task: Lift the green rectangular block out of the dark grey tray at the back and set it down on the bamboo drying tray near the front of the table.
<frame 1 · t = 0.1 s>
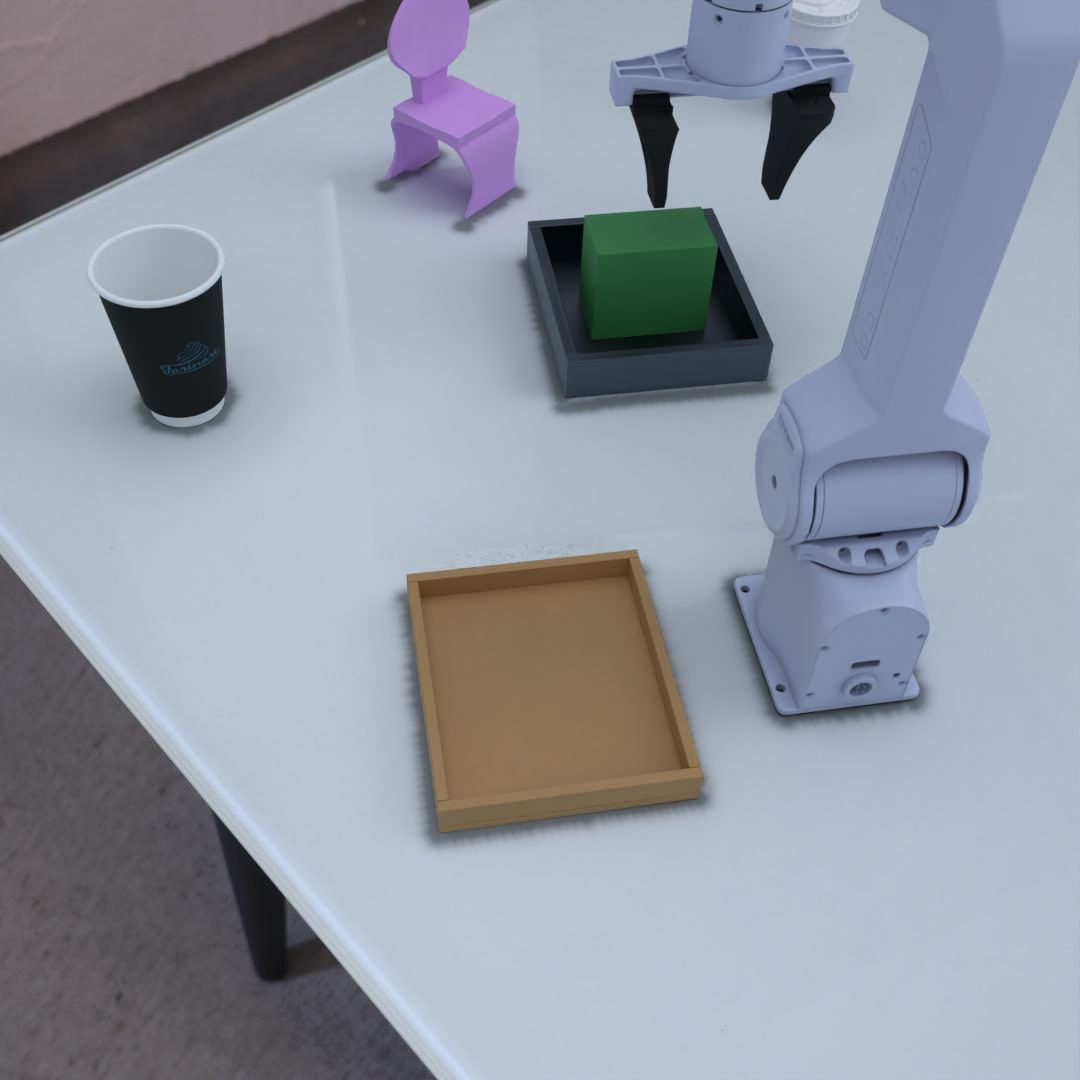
hand: (713, 195, 85), 10 cm above the table, tool pointing down, fingers open, 7 cm apart
drying tray: (544, 692, 70), on the table
toy chair: (452, 192, 102), on the table
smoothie: (798, 109, 112), on the table
dixie cup: (188, 404, 85), on the table
dark grey tray: (640, 324, 92), on the table
green rectangular block: (641, 315, 91), point 1 cm above the table, touching dark grey tray
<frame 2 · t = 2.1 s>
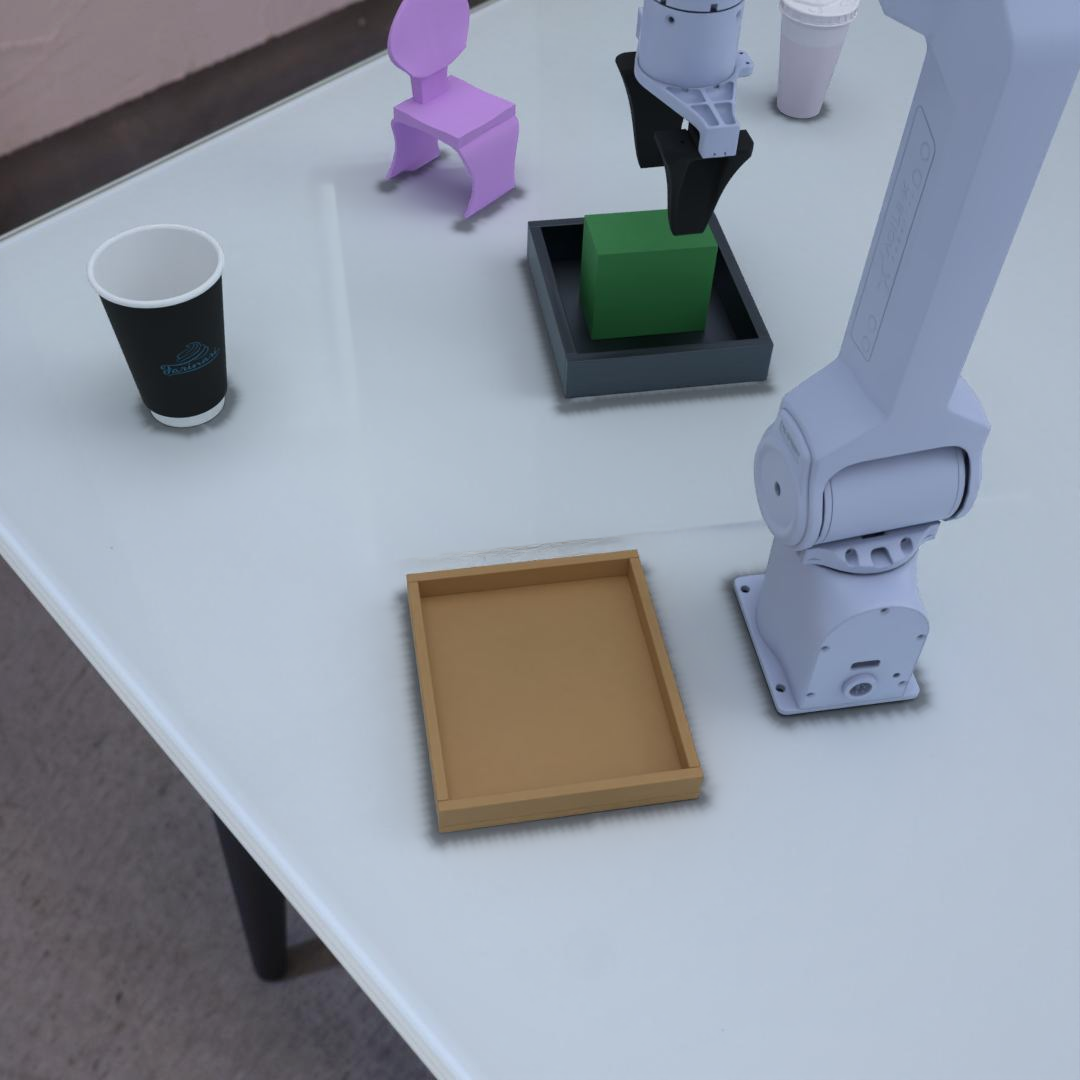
hand: (670, 197, 84), 10 cm above the table, tool pointing down, fingers open, 7 cm apart
nothing on the table moved.
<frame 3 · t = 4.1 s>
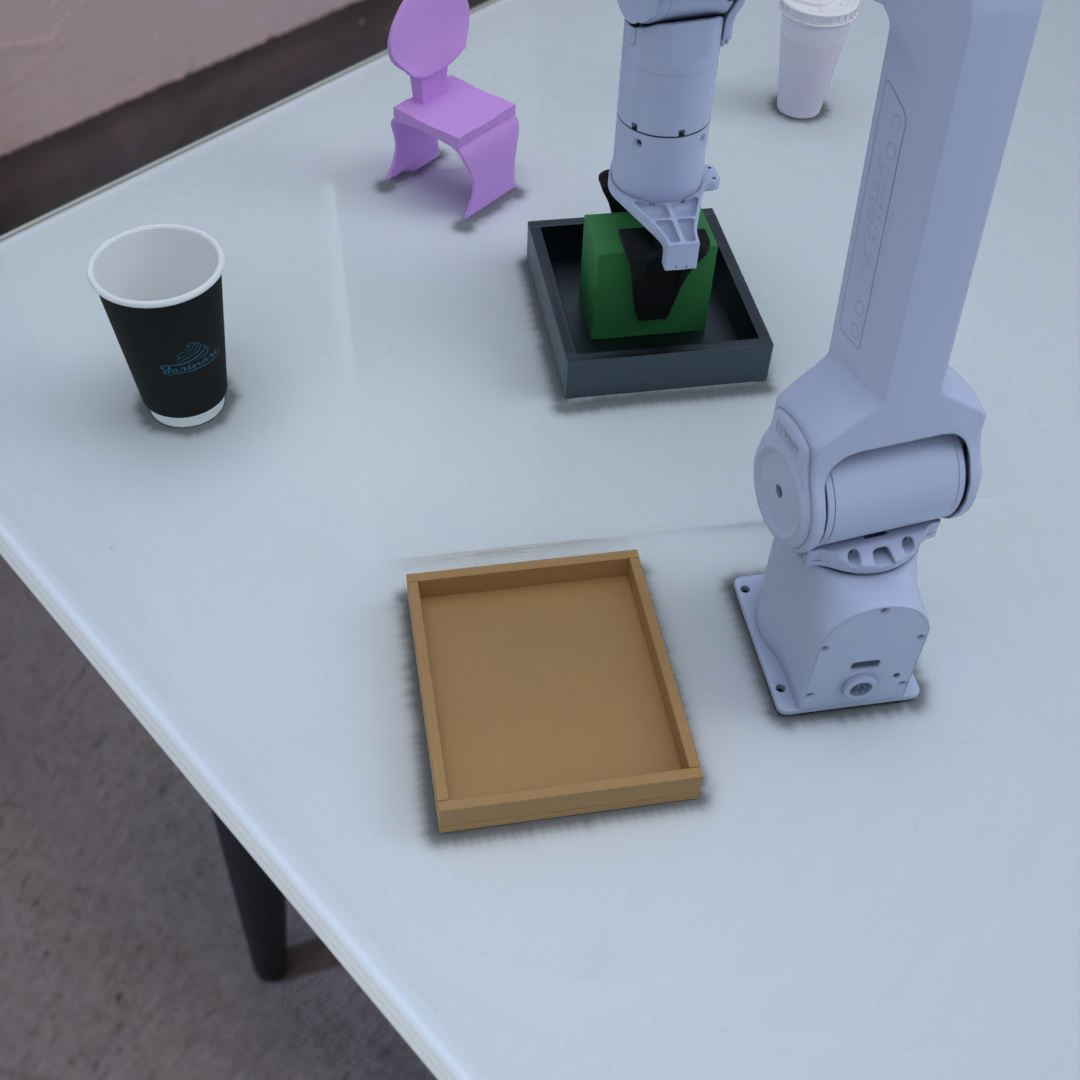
hand: (643, 294, 90), 3 cm above the table, tool pointing down, fingers closed on green rectangular block, 4 cm apart
green rectangular block: (641, 314, 91), point 1 cm above the table, touching dark grey tray, gripper
everything else where it was.
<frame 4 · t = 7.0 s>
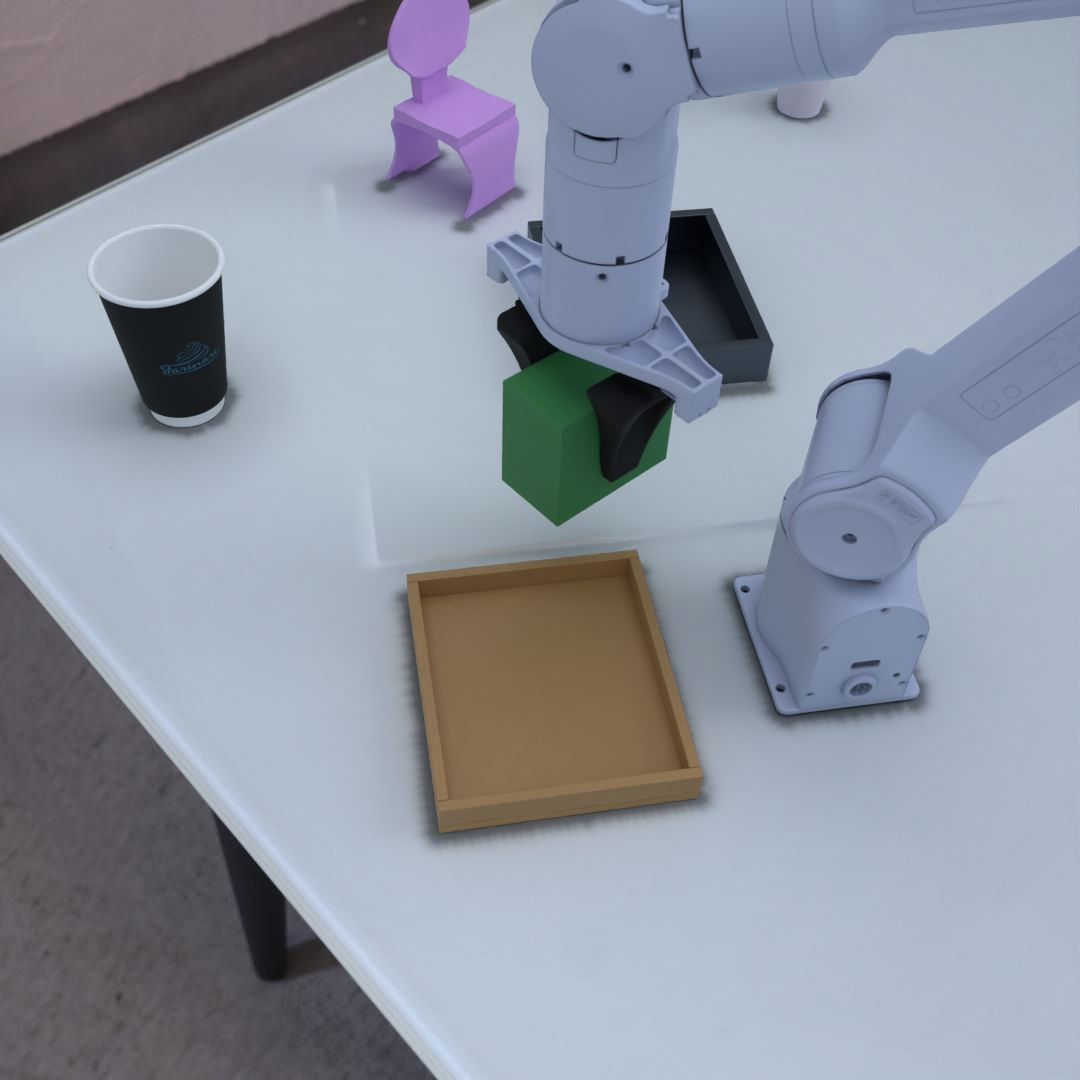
hand: (588, 445, 70), 10 cm above the table, tool pointing down, fingers closed on green rectangular block, 4 cm apart
green rectangular block: (584, 469, 71), point 8 cm above the table, touching gripper
everything else where it was.
when the fingers open (2 cm above the table, at t = 9.9 s): green rectangular block stays where it is, resting on drying tray.
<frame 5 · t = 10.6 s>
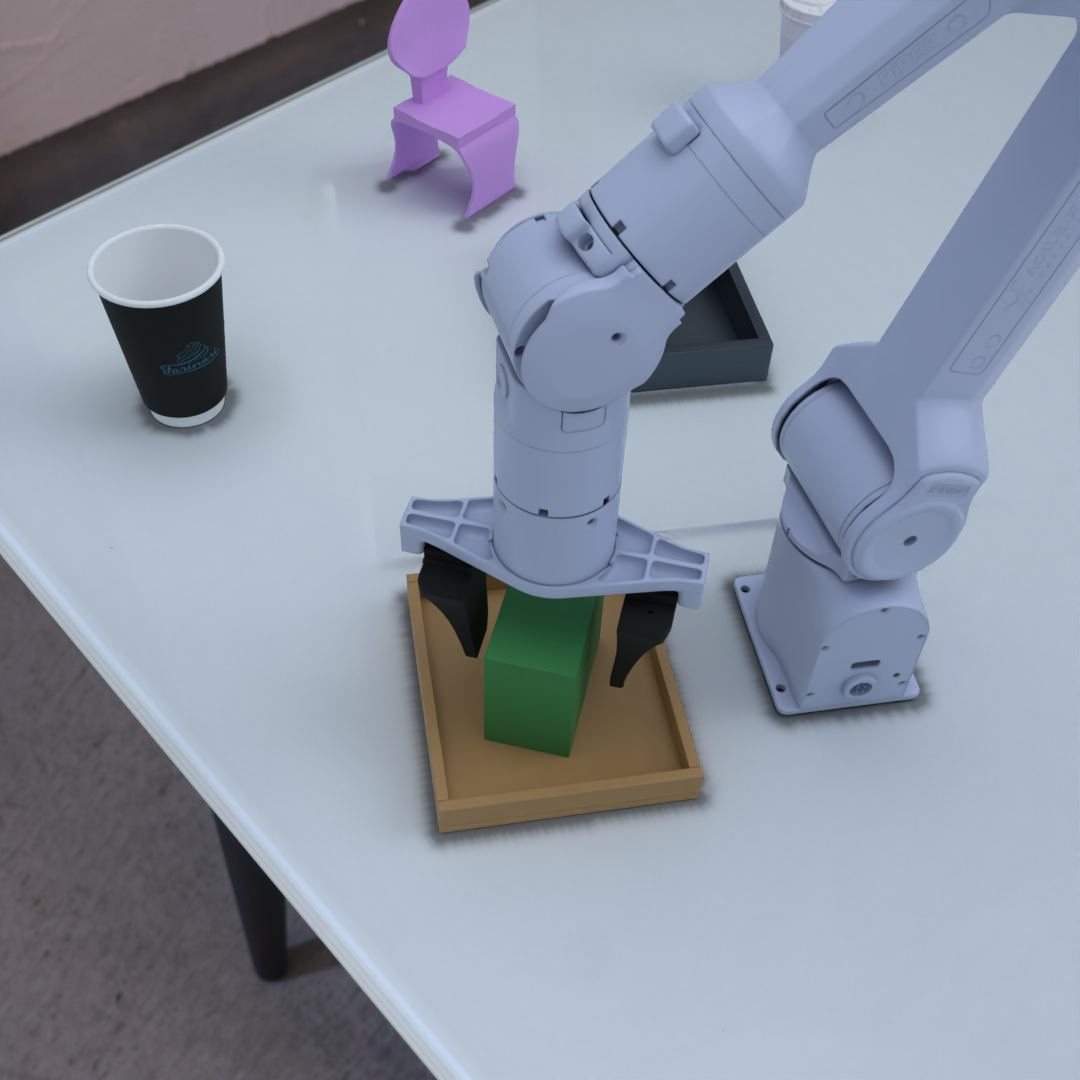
hand: (547, 657, 68), 3 cm above the table, tool pointing down, fingers open, 7 cm apart
green rectangular block: (543, 687, 70), point 1 cm above the table, touching drying tray
everything else where it was.
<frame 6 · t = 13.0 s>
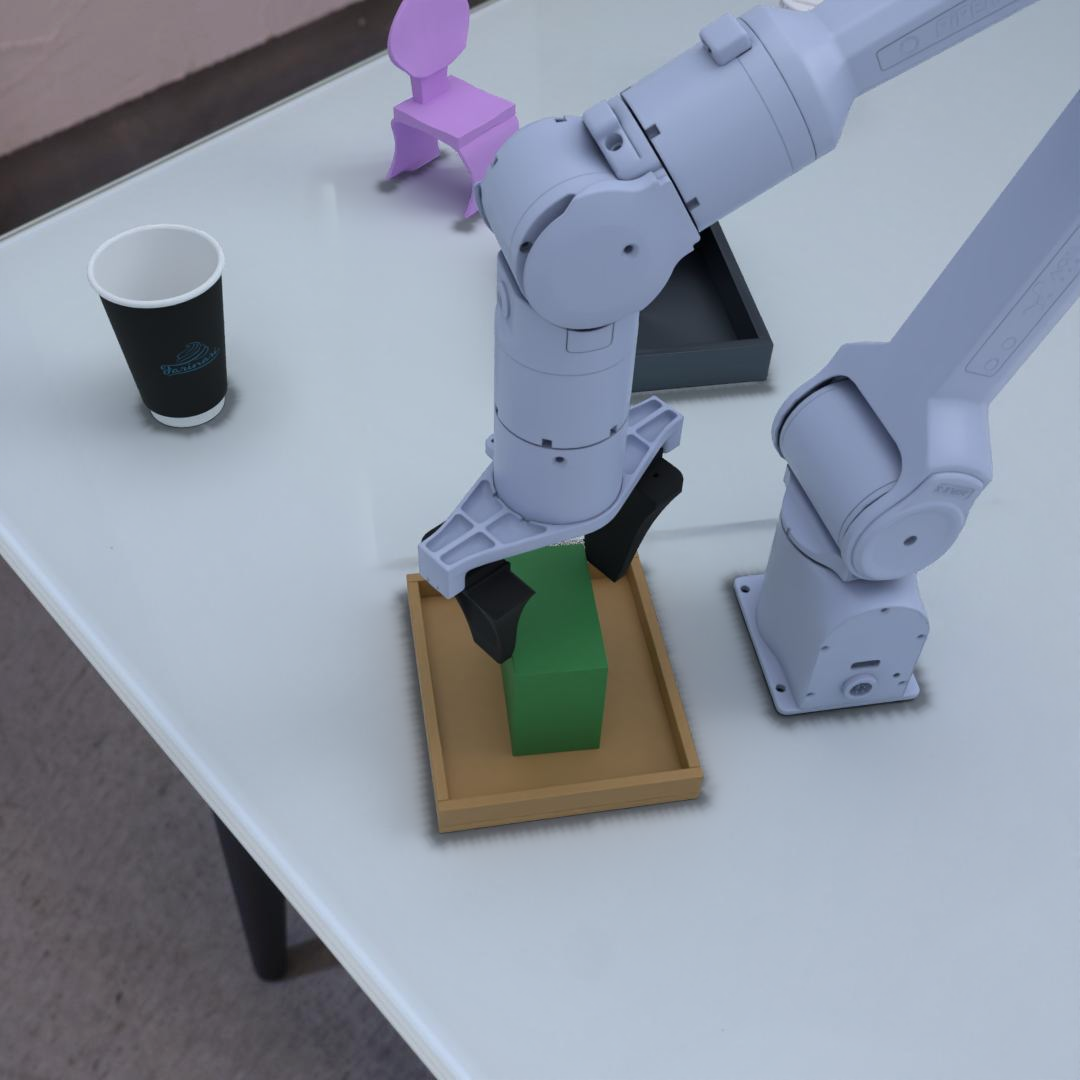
hand: (550, 607, 65), 7 cm above the table, tool pointing down
green rectangular block: (546, 689, 70), point 1 cm above the table, touching gripper
everything else where it was.
when the fingers open (8 cm above the table, at t = 13.2 s): green rectangular block stays where it is, resting on drying tray.
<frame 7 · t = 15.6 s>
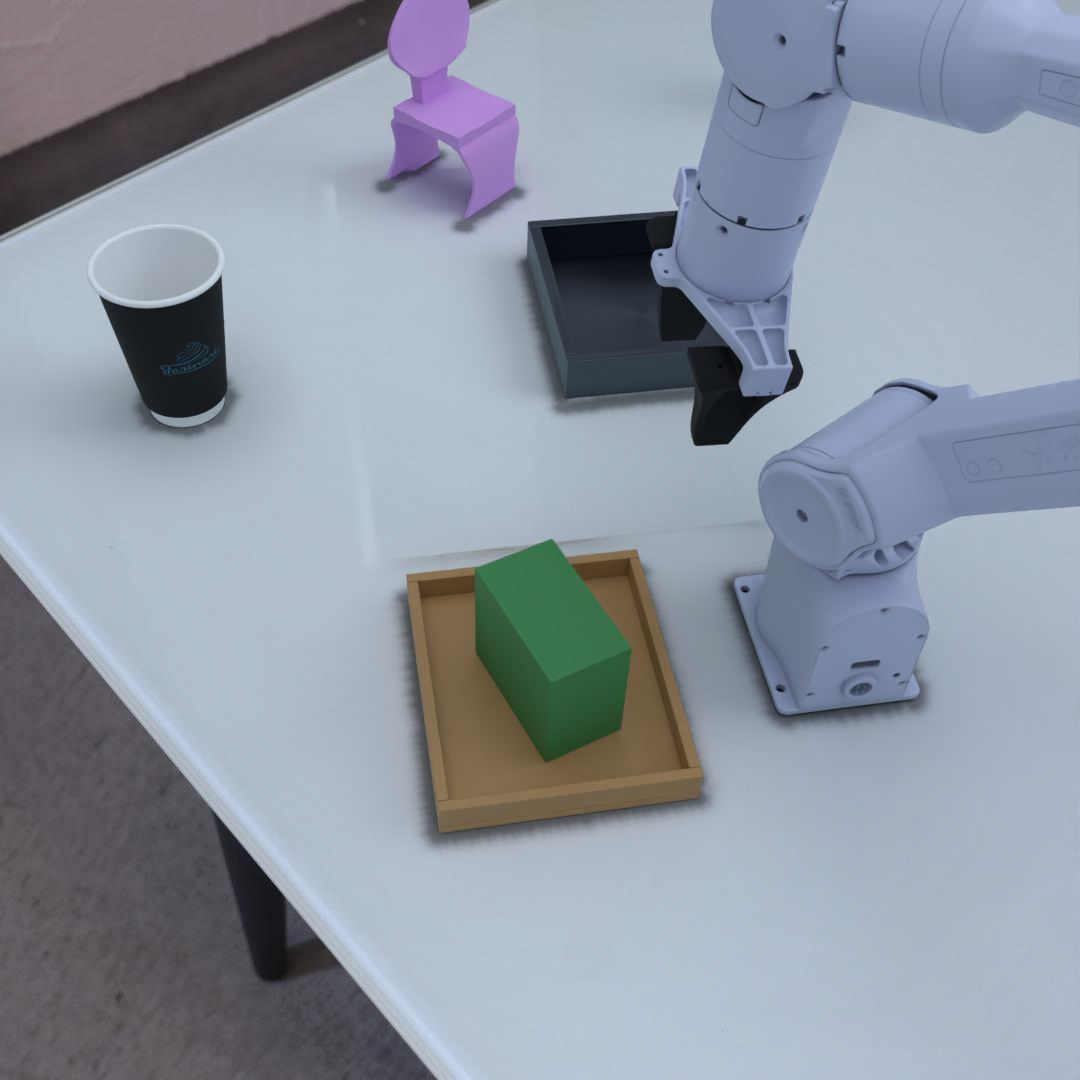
hand: (693, 387, 72), 10 cm above the table, tool pointing down, fingers open, 7 cm apart
green rectangular block: (546, 689, 70), point 1 cm above the table, touching drying tray
everything else where it was.
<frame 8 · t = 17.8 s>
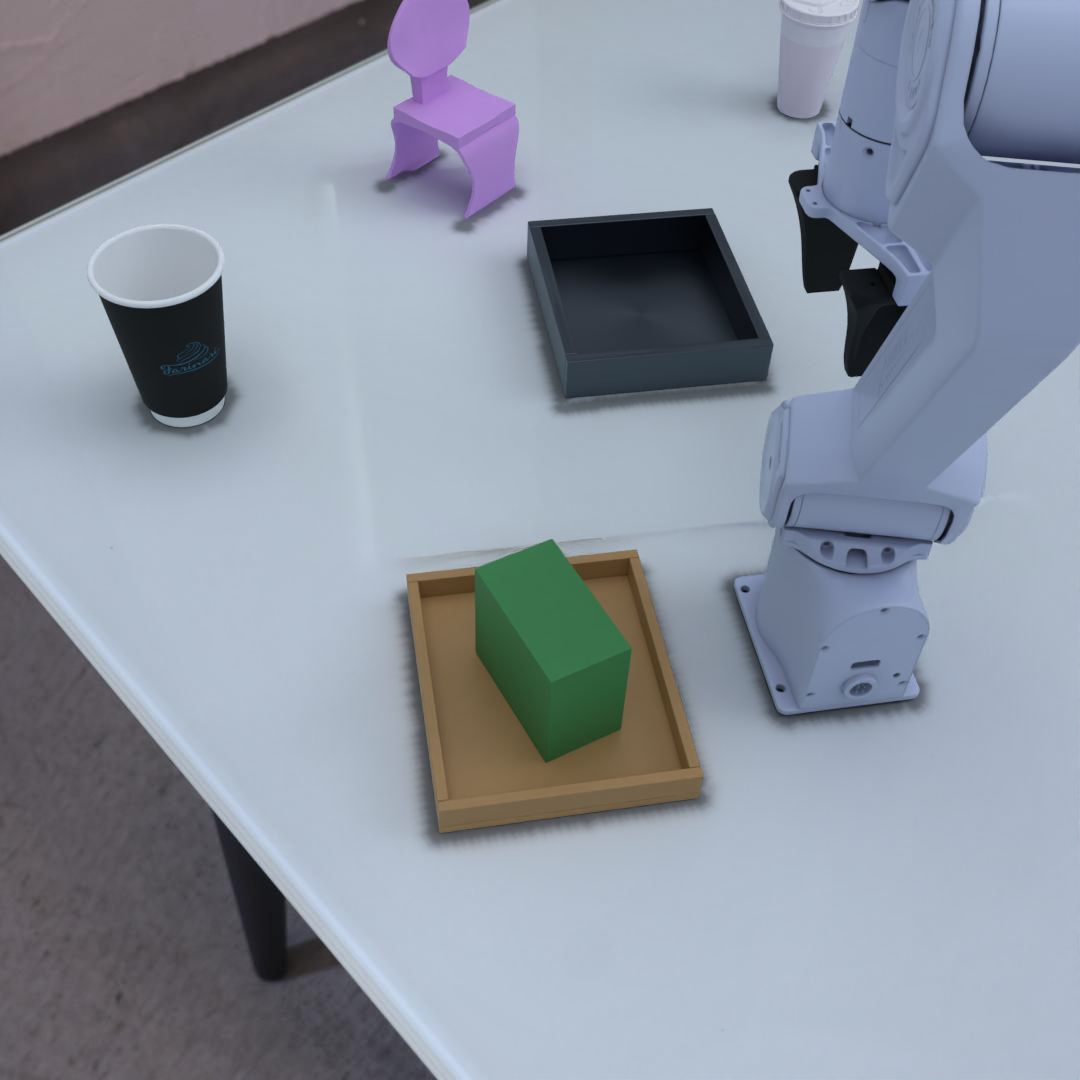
hand: (841, 329, 76), 10 cm above the table, tool pointing down, fingers open, 7 cm apart
nothing on the table moved.
at the end: green rectangular block inside the target area in the drying tray (0.3 cm from its centre), point 0.6 cm above the drying tray's base; the gripper is holding nothing; green rectangular block touching drying tray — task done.
